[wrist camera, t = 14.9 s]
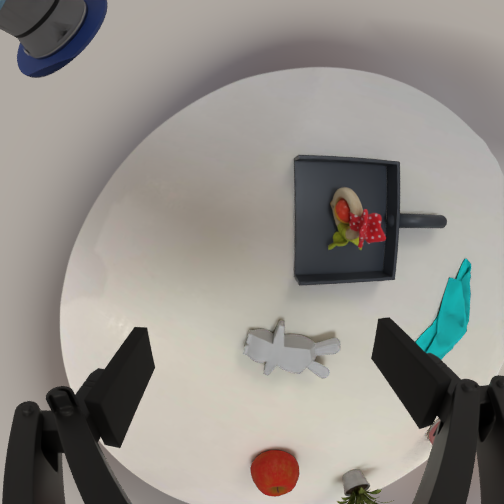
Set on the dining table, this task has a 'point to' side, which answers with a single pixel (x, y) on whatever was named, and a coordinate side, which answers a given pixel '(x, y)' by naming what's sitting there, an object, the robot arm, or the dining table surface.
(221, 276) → the dining table surface
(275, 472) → the apple
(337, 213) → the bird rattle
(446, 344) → the cloth
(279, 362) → the bunny figurine
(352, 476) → the house plant
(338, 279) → the scoop
